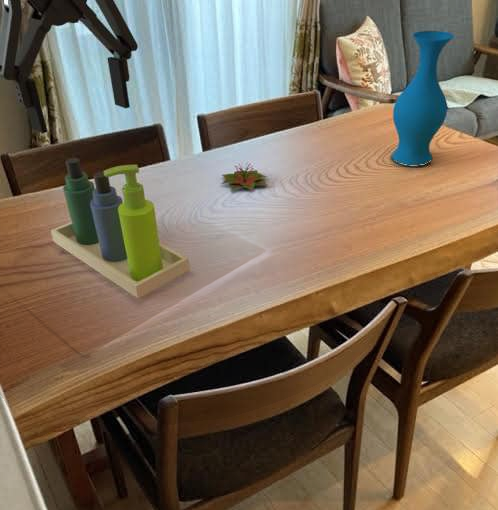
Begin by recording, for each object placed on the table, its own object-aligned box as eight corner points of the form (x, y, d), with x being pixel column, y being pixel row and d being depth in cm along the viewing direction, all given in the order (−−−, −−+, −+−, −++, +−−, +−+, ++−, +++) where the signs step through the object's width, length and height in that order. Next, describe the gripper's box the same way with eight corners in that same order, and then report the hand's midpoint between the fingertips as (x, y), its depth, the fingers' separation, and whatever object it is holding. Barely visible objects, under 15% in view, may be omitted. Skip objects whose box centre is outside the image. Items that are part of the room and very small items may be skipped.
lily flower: (261, 169, 132) (261, 150, 129) (277, 189, 123) (277, 170, 120) (213, 176, 129) (212, 157, 126) (226, 197, 120) (225, 178, 118)
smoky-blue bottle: (96, 254, 102) (77, 175, 92) (120, 243, 105) (105, 165, 95) (113, 265, 99) (95, 184, 89) (138, 253, 102) (123, 173, 92)
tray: (54, 244, 107) (50, 230, 105) (103, 222, 113) (100, 209, 111) (138, 301, 91) (135, 286, 90) (190, 272, 98) (188, 258, 96)
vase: (378, 163, 133) (395, 38, 115) (397, 146, 141) (416, 27, 123) (426, 174, 128) (451, 44, 110) (443, 155, 136) (469, 32, 118)
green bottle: (71, 238, 107) (50, 161, 97) (95, 227, 110) (77, 151, 100) (86, 248, 104) (66, 169, 94) (110, 237, 107) (94, 159, 97)
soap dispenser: (122, 268, 98) (101, 163, 86) (160, 261, 100) (144, 157, 87) (127, 285, 94) (105, 178, 81) (166, 278, 95) (150, 171, 83)
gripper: (-47, -56, 54) (14, 149, 68) (149, -71, 68) (167, 102, 82) (-76, -60, 58) (-14, 134, 72) (115, -73, 72) (137, 92, 86)
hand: (83, 117), depth 77 cm, fingers open, 13 cm apart
